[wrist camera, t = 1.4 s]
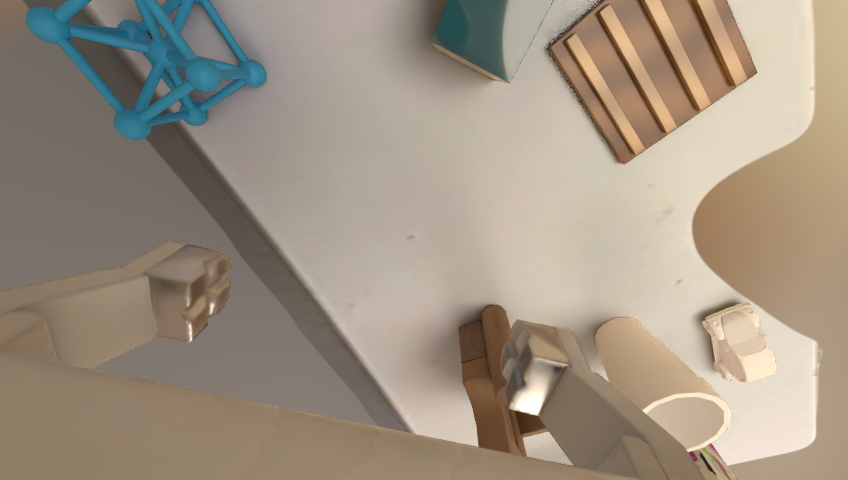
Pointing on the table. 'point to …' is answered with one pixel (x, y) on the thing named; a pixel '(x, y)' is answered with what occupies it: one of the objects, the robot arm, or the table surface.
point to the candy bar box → (711, 464)
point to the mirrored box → (489, 33)
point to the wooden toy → (493, 385)
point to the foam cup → (661, 383)
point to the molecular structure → (151, 60)
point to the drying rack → (651, 66)
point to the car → (739, 344)
